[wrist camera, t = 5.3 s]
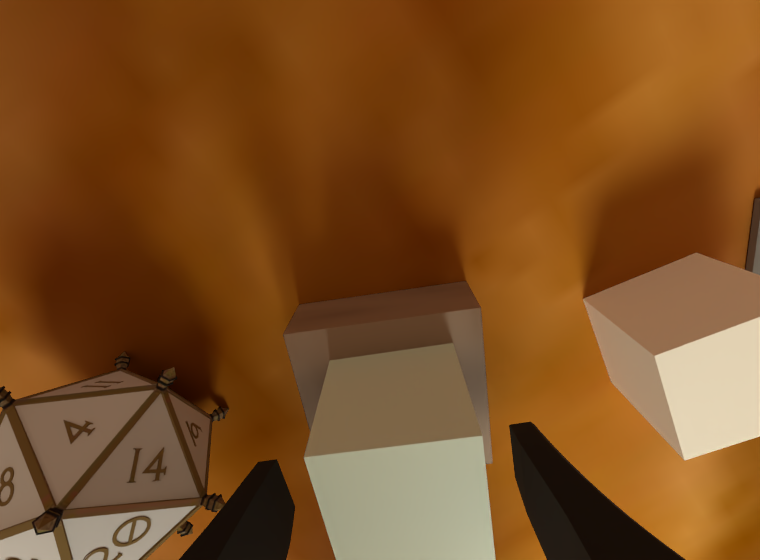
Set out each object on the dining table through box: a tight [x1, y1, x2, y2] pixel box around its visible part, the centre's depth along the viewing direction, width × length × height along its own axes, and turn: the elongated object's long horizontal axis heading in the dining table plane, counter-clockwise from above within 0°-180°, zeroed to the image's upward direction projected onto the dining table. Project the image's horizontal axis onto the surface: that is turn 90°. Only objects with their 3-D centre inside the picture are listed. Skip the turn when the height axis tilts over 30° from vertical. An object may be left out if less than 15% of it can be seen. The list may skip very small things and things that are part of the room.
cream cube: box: [583, 253, 760, 460], centre depth 14 cm, size 4×4×4 cm
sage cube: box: [304, 343, 496, 560], centre depth 12 cm, size 4×4×4 cm
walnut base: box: [283, 281, 493, 464], centre depth 16 cm, size 7×7×3 cm
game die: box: [0, 351, 229, 560], centre depth 14 cm, size 9×8×10 cm
